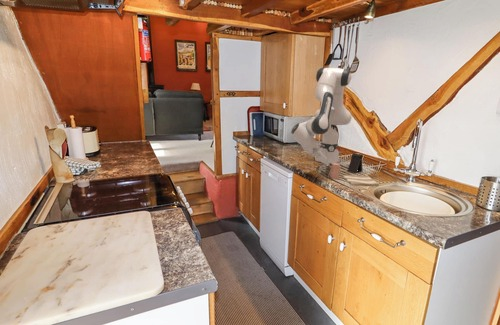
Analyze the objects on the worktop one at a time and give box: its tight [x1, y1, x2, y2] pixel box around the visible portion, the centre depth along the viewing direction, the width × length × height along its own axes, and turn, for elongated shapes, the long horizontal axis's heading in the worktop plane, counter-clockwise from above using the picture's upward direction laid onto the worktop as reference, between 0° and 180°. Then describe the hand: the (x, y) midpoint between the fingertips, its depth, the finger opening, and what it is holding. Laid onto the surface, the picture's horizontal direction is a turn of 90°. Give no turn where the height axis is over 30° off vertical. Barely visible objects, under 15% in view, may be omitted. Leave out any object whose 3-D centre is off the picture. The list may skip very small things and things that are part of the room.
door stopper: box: [347, 152, 363, 174], centre depth 187 cm, size 9×6×12 cm, turn 128°
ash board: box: [342, 174, 379, 187], centre depth 169 cm, size 15×16×1 cm
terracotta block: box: [329, 162, 341, 180], centre depth 172 cm, size 4×4×9 cm
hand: (326, 163), depth 171 cm, fingers open, 8 cm apart
